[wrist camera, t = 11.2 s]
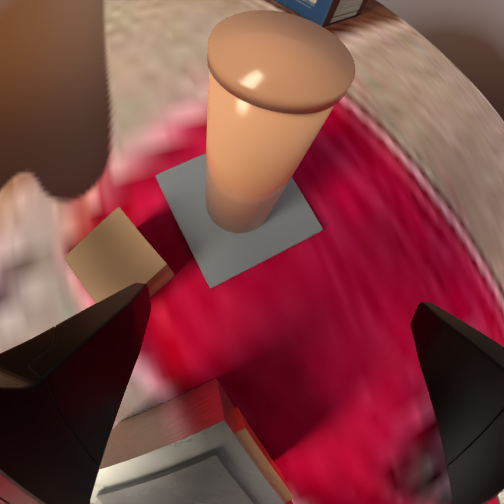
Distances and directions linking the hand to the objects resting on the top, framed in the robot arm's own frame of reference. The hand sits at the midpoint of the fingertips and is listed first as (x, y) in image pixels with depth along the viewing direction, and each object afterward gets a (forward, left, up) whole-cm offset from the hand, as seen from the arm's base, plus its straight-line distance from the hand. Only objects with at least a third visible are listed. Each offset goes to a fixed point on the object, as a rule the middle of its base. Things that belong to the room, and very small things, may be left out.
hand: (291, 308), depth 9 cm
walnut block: (-6, +6, -12) cm, 14 cm away
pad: (+3, +7, -12) cm, 14 cm away
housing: (-8, -7, -12) cm, 16 cm away
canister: (+3, +7, -11) cm, 13 cm away
